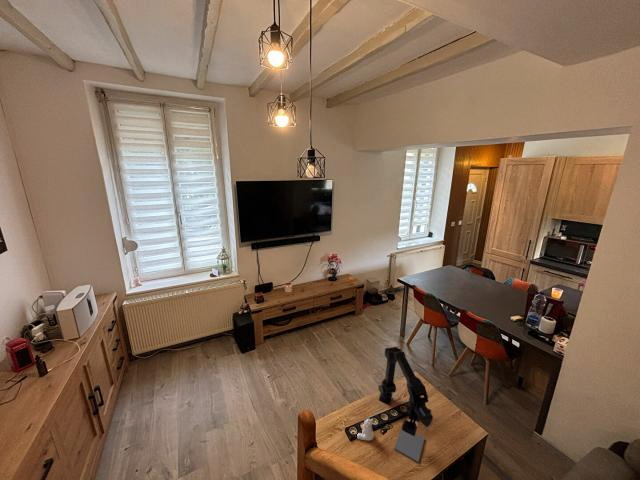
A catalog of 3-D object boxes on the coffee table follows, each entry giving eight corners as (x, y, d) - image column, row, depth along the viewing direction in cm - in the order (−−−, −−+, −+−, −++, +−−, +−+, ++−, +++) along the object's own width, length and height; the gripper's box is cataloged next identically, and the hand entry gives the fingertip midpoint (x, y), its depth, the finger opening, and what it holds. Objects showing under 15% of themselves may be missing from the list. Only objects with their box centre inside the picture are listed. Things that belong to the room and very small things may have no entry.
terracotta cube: (405, 431, 135) (405, 424, 133) (407, 423, 139) (408, 416, 137) (415, 437, 132) (416, 429, 131) (417, 428, 136) (418, 421, 135)
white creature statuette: (362, 424, 149) (363, 407, 145) (377, 433, 144) (378, 416, 141) (354, 437, 141) (355, 420, 138) (369, 447, 137) (370, 430, 133)
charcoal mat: (394, 449, 136) (394, 447, 135) (401, 427, 147) (402, 426, 147) (418, 463, 129) (418, 461, 129) (424, 439, 141) (424, 437, 140)
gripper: (427, 429, 119) (423, 454, 124) (435, 399, 134) (431, 422, 139) (403, 416, 125) (400, 441, 129) (413, 389, 140) (410, 412, 144)
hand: (411, 428), depth 135 cm, fingers closed on terracotta cube, 5 cm apart
